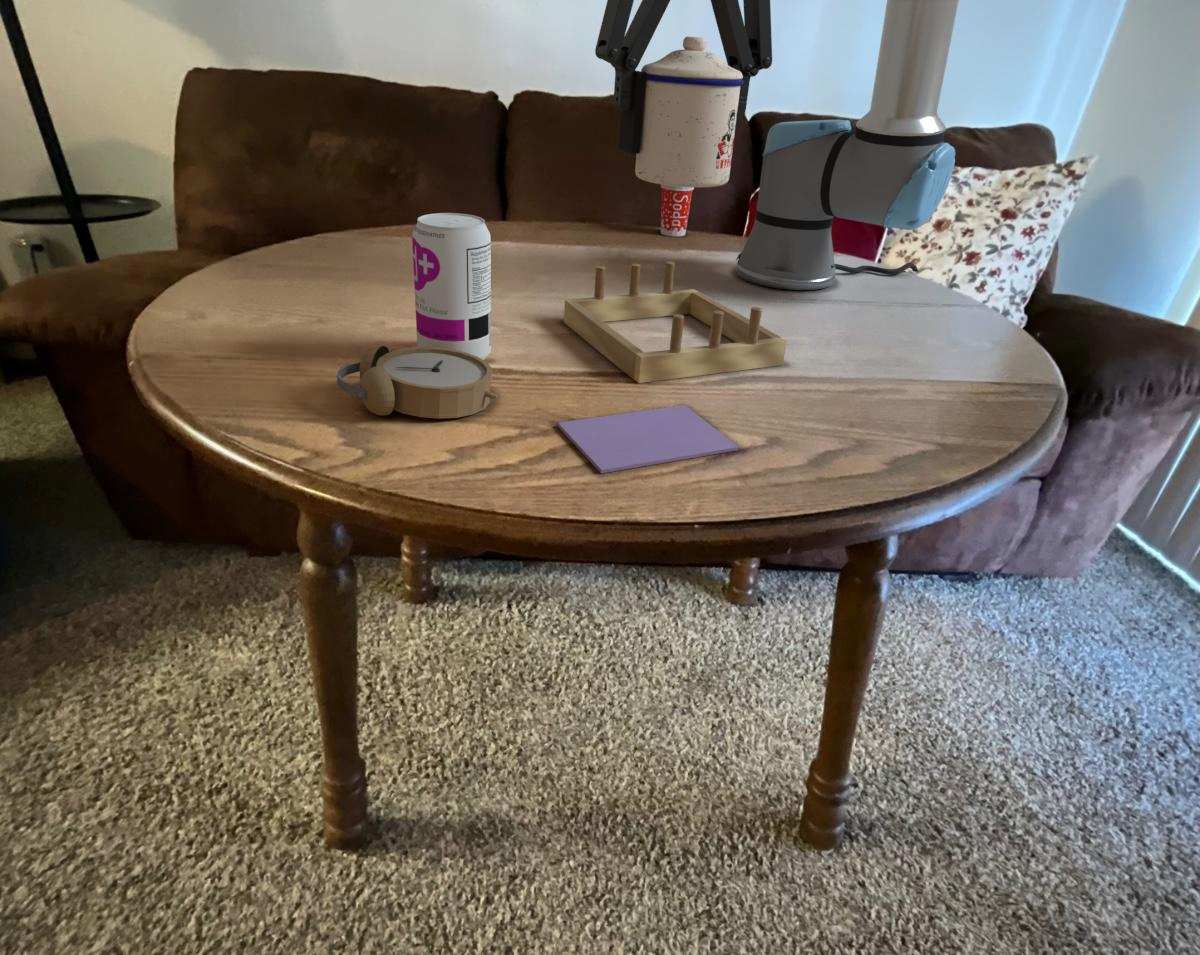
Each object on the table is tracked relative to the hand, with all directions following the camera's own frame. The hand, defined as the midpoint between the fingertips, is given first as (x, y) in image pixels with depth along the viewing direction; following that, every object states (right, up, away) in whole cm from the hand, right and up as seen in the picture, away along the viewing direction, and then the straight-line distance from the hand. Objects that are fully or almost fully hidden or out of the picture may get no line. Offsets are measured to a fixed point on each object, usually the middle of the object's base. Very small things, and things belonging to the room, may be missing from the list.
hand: (676, 151), depth 77 cm
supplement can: (-24, -16, +18) cm, 34 cm away
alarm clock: (-25, -22, +7) cm, 34 cm away
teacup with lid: (0, -2, +1) cm, 3 cm away
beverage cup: (+6, +15, +79) cm, 81 cm away
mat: (-3, -26, +2) cm, 26 cm away
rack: (+1, -13, +26) cm, 29 cm away
